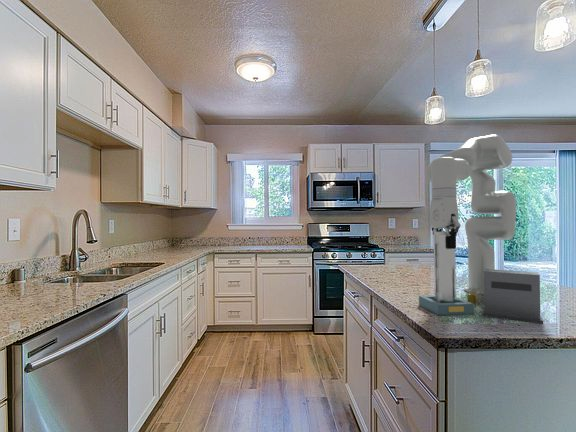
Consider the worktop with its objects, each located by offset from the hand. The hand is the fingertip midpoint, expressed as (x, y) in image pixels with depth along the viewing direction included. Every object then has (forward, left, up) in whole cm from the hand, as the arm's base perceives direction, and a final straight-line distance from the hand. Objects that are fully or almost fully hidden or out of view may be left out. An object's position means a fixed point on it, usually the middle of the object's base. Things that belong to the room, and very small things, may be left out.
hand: (444, 247), depth 107 cm
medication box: (-17, -9, -22) cm, 29 cm away
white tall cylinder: (0, 0, -20) cm, 20 cm away
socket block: (0, 0, -21) cm, 21 cm away
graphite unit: (-16, +9, -21) cm, 28 cm away
